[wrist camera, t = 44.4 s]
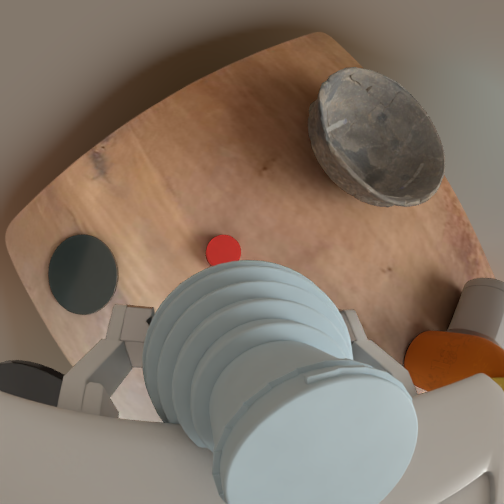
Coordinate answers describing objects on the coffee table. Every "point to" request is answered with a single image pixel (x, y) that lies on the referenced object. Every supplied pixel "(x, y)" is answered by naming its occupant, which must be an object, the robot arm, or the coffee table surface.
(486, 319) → the alarm clock
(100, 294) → the coaster
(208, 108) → the coffee table surface
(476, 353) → the wine bottle
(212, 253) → the cap
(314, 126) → the bowl
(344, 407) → the bottle
